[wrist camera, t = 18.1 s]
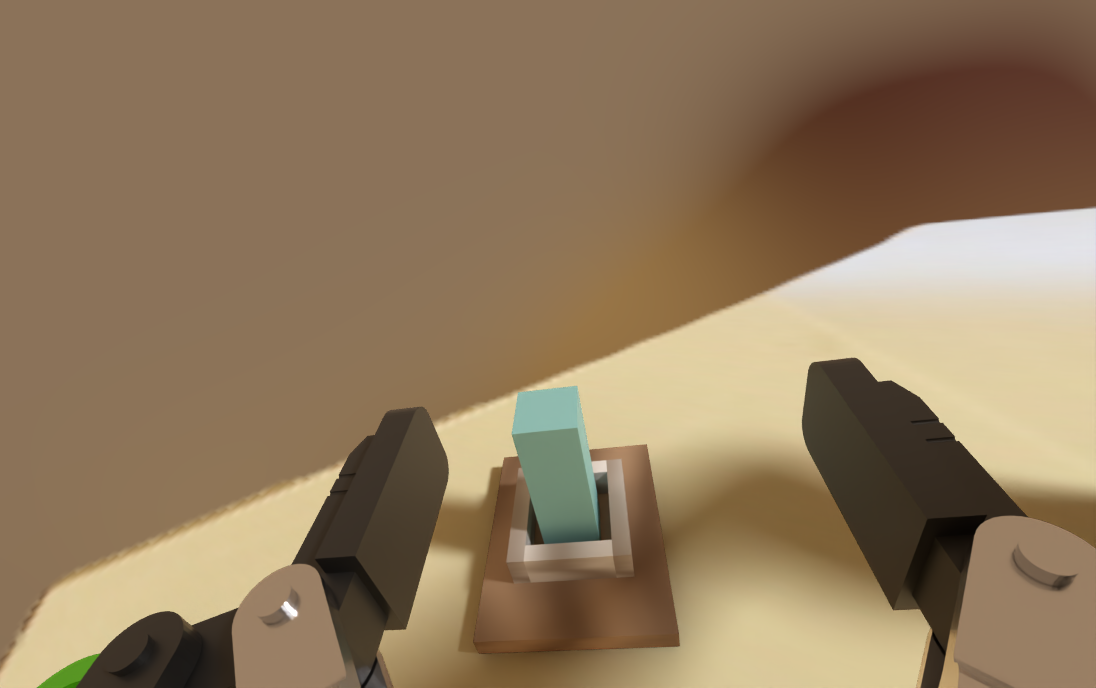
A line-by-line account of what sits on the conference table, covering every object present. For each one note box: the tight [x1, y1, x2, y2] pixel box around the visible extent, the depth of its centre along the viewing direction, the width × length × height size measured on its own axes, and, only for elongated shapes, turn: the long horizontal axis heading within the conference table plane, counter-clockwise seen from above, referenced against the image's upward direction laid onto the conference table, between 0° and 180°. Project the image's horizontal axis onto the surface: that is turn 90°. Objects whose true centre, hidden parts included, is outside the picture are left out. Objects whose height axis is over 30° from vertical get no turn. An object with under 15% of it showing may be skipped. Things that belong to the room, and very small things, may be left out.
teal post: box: [512, 386, 601, 544], centre depth 34 cm, size 4×4×12 cm
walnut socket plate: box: [473, 444, 680, 653], centre depth 37 cm, size 13×16×4 cm
